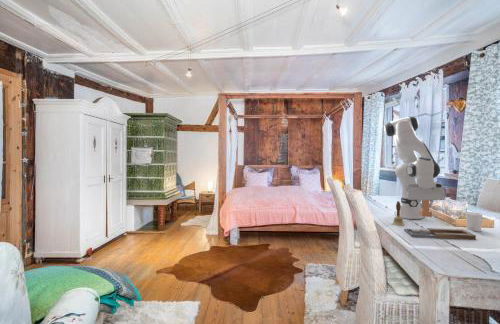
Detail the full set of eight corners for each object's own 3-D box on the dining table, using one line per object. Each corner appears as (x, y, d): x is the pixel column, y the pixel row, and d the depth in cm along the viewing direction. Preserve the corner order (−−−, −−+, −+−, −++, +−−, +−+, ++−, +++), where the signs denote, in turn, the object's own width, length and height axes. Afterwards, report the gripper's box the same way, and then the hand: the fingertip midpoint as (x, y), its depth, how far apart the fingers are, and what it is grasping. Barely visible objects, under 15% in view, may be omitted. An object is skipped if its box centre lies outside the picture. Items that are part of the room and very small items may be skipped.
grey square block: (410, 233, 164) (410, 228, 164) (418, 234, 163) (418, 228, 163) (413, 235, 160) (413, 230, 160) (420, 236, 159) (420, 230, 159)
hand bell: (406, 228, 178) (406, 202, 178) (392, 227, 181) (392, 202, 180) (404, 224, 186) (404, 200, 185) (390, 223, 189) (390, 200, 188)
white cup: (480, 232, 166) (480, 215, 166) (463, 229, 172) (464, 213, 172) (483, 230, 171) (483, 213, 171) (467, 227, 177) (467, 211, 177)
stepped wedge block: (419, 215, 174) (419, 198, 173) (428, 215, 173) (428, 198, 173) (422, 216, 169) (422, 199, 169) (431, 216, 168) (431, 200, 168)
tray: (404, 232, 168) (404, 228, 168) (426, 233, 166) (426, 229, 166) (411, 239, 156) (411, 234, 156) (436, 240, 154) (436, 235, 154)
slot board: (425, 233, 167) (425, 227, 167) (462, 234, 163) (462, 228, 163) (436, 240, 153) (436, 234, 153) (476, 242, 150) (476, 236, 149)
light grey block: (419, 234, 163) (419, 228, 163) (427, 234, 162) (427, 229, 162) (422, 236, 159) (422, 230, 159) (430, 236, 158) (430, 231, 158)
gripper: (408, 184, 169) (408, 208, 170) (446, 184, 165) (446, 208, 166) (404, 183, 175) (404, 206, 176) (441, 183, 172) (441, 206, 172)
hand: (425, 207), depth 171 cm, fingers closed on stepped wedge block, 3 cm apart
